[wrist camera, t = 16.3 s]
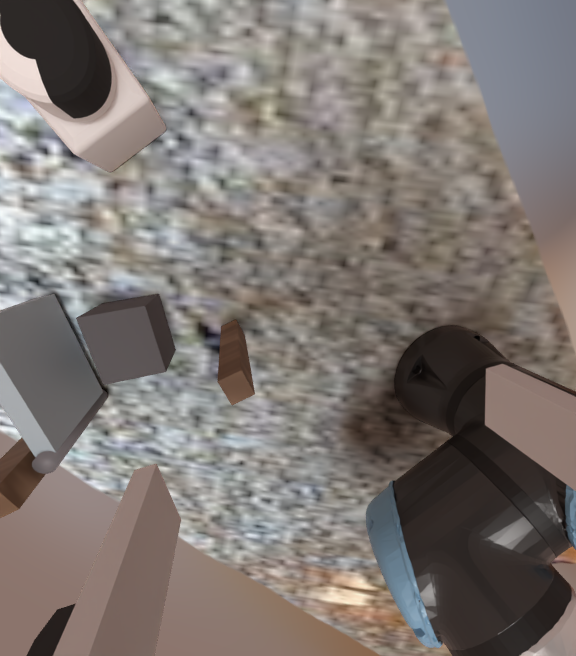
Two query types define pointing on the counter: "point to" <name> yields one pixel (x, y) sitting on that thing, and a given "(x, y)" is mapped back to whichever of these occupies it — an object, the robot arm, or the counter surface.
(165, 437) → the counter surface
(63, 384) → the door
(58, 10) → the medicine bottle
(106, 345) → the dark grey block
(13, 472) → the doorframe
